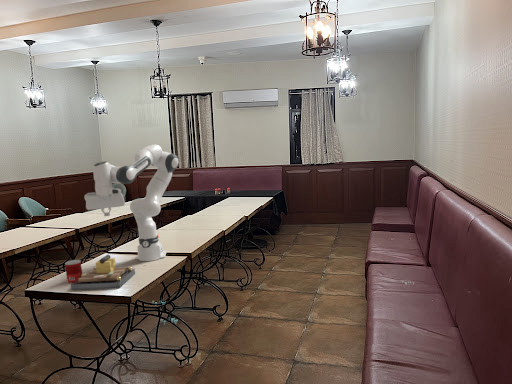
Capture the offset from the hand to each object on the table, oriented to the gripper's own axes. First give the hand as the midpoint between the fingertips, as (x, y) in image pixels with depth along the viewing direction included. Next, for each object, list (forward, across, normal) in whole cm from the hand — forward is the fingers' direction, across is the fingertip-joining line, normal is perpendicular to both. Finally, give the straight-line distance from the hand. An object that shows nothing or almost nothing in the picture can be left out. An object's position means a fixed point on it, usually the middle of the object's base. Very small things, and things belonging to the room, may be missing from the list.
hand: (107, 215), depth 221 cm
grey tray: (+35, -5, -7) cm, 36 cm away
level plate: (+32, -5, -6) cm, 33 cm away
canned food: (+35, -21, +4) cm, 41 cm away
